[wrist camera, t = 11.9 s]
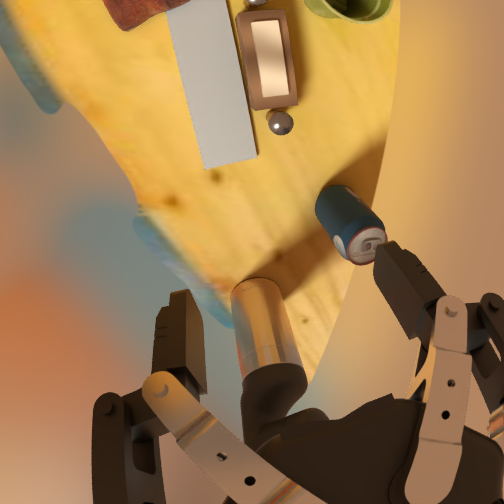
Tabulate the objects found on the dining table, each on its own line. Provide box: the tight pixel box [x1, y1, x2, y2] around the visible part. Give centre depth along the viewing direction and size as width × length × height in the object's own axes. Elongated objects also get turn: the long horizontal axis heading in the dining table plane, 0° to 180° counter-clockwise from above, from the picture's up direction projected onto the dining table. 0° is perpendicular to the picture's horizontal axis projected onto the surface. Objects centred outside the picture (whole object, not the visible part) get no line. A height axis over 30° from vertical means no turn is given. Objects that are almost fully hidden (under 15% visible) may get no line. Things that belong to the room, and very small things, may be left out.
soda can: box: [315, 185, 388, 265], centre depth 38 cm, size 7×7×12 cm
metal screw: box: [266, 110, 294, 135], centre depth 32 cm, size 3×3×5 cm
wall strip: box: [166, 0, 257, 170], centre depth 28 cm, size 26×7×1 cm, turn 10°
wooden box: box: [235, 9, 298, 111], centre depth 27 cm, size 12×5×5 cm, turn 8°
